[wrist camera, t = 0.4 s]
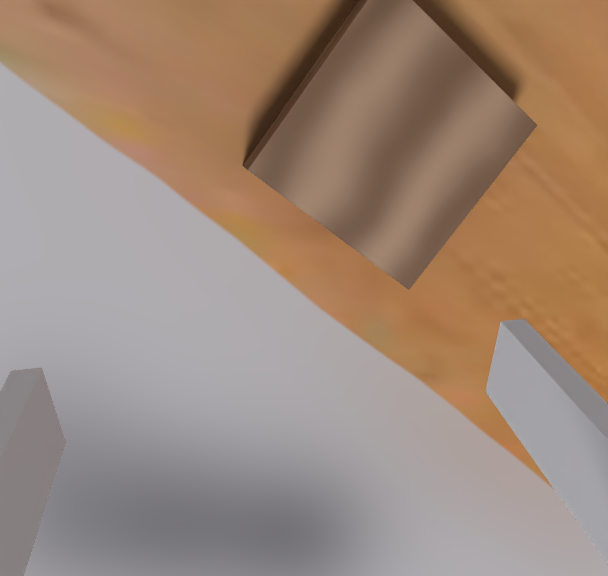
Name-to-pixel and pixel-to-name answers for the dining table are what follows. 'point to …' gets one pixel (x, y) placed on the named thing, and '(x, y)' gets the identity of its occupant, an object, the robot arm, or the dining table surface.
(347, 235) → the walnut riser
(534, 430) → the robot arm
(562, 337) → the dining table surface
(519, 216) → the dining table surface
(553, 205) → the dining table surface
